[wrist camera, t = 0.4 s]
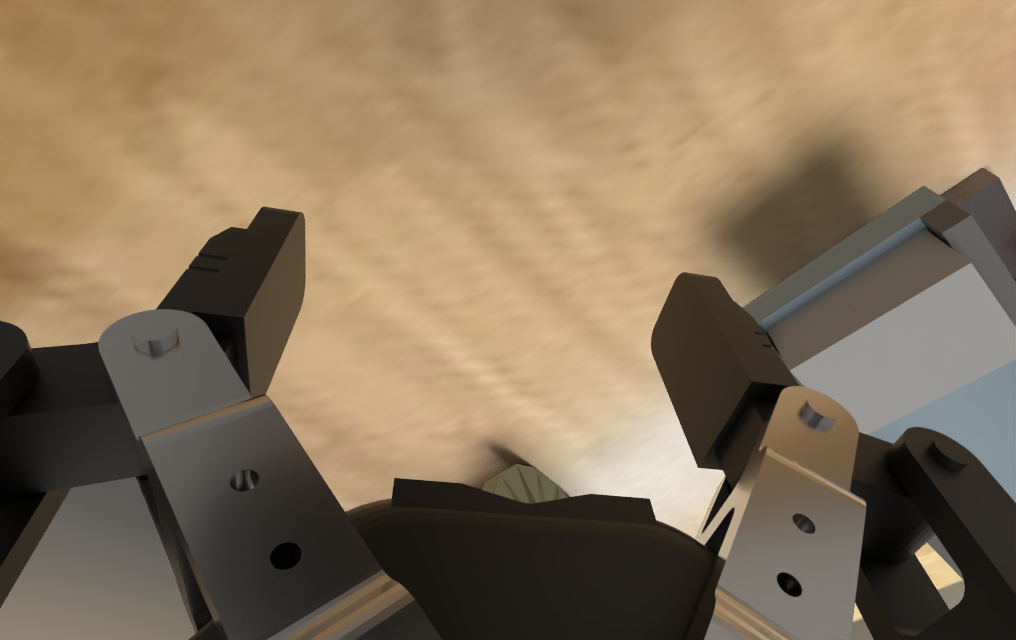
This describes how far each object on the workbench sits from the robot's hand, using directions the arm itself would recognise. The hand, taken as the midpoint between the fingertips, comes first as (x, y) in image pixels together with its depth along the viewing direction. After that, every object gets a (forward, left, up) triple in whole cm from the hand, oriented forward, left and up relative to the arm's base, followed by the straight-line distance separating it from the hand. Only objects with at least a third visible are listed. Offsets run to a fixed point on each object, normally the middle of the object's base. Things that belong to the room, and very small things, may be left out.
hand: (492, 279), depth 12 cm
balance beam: (+10, +29, -6) cm, 31 cm away
